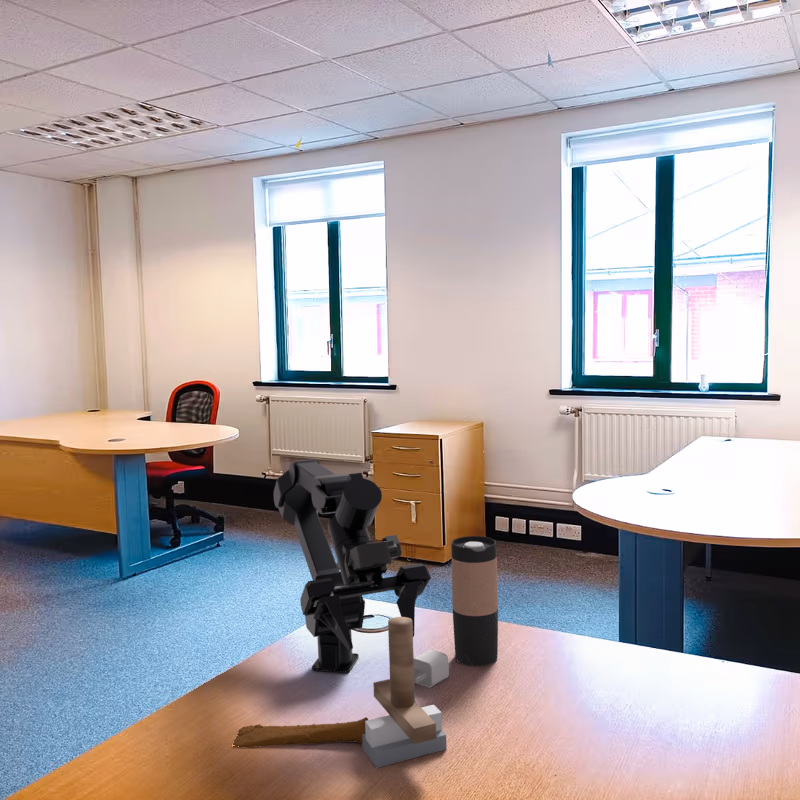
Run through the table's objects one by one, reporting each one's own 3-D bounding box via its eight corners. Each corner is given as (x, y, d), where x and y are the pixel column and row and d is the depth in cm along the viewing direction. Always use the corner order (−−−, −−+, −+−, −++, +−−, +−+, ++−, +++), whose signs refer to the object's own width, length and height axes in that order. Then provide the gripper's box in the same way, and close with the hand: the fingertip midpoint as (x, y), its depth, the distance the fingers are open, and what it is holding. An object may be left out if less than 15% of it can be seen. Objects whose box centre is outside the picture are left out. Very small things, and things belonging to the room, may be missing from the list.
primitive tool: (229, 751, 105) (228, 726, 105) (240, 730, 110) (239, 707, 110) (371, 751, 104) (370, 725, 103) (374, 730, 109) (373, 706, 109)
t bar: (373, 696, 109) (370, 606, 107) (394, 691, 110) (391, 602, 109) (413, 744, 96) (410, 642, 95) (436, 738, 97) (434, 637, 96)
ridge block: (376, 767, 99) (375, 734, 98) (362, 748, 103) (361, 716, 103) (446, 749, 103) (445, 716, 102) (430, 731, 107) (429, 700, 107)
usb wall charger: (448, 678, 124) (448, 654, 123) (421, 695, 118) (421, 669, 118) (429, 672, 126) (428, 648, 126) (401, 687, 121) (401, 663, 120)
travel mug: (468, 644, 136) (465, 533, 134) (507, 654, 132) (504, 539, 130) (445, 660, 130) (441, 544, 128) (484, 671, 126) (482, 550, 124)
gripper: (302, 526, 108) (329, 630, 99) (423, 510, 115) (459, 605, 106) (290, 565, 116) (314, 665, 107) (404, 548, 123) (436, 640, 114)
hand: (382, 643), depth 108 cm, fingers open, 9 cm apart
